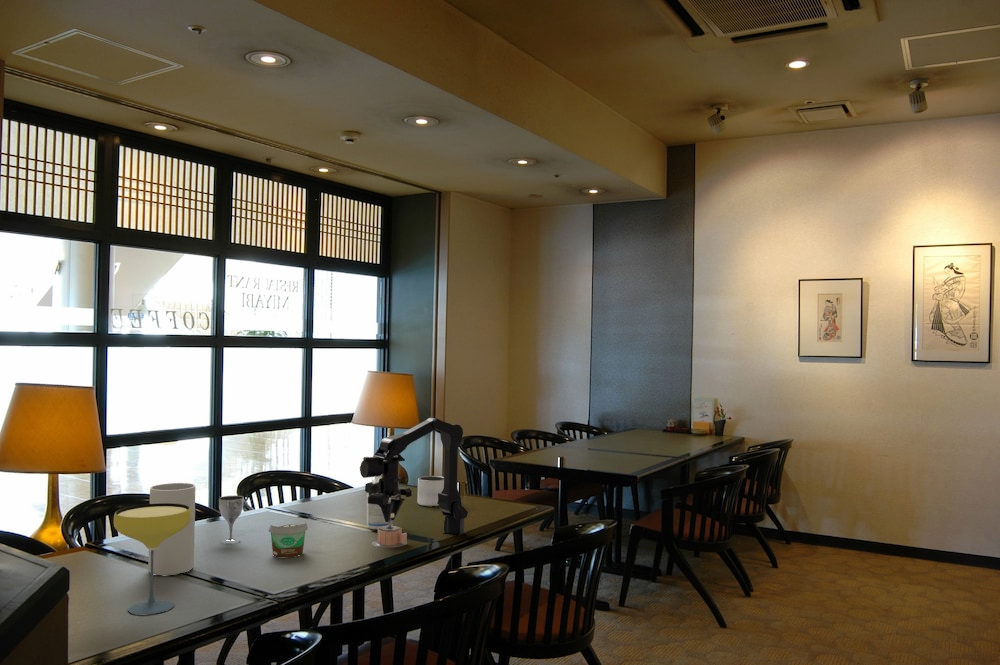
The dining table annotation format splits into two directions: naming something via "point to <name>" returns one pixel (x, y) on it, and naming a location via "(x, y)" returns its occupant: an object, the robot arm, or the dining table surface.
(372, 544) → the disc
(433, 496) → the planter
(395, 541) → the orange slatted barrel
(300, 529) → the food container
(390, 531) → the plunger
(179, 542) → the cylinder vase
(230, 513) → the wine glass
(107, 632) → the dining table surface
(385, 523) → the supplement tub
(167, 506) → the cocktail glass
